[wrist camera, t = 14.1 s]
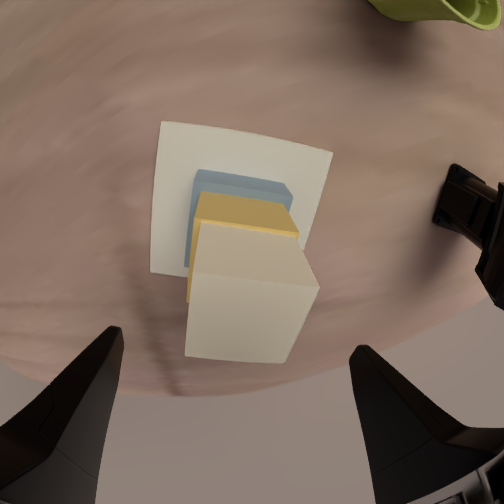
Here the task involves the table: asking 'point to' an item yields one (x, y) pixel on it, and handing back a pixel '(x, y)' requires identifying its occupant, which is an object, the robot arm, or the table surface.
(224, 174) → the base brick
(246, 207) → the brick ochre
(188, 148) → the build plate
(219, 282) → the brick cream
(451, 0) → the plant pot
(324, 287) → the table surface
